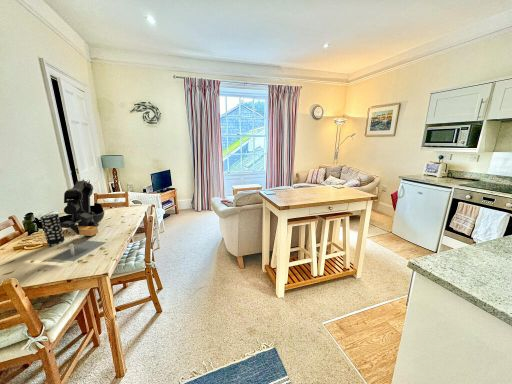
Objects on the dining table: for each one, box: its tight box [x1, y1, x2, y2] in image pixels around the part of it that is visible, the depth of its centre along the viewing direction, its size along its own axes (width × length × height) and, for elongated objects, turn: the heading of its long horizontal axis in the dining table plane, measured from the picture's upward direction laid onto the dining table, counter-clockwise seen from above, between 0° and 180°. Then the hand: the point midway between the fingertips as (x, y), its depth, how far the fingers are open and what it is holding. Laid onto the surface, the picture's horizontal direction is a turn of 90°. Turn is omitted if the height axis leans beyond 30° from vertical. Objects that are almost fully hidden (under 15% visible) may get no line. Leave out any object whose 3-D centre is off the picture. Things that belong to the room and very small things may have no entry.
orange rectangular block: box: [74, 226, 99, 237], centre depth 133 cm, size 12×5×4 cm, turn 81°
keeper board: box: [50, 240, 107, 262], centre depth 128 cm, size 16×22×9 cm
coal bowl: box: [77, 202, 105, 225], centre depth 167 cm, size 20×20×19 cm
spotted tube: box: [39, 213, 66, 248], centre depth 136 cm, size 8×8×20 cm
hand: (82, 232), depth 134 cm, fingers closed on orange rectangular block, 5 cm apart
